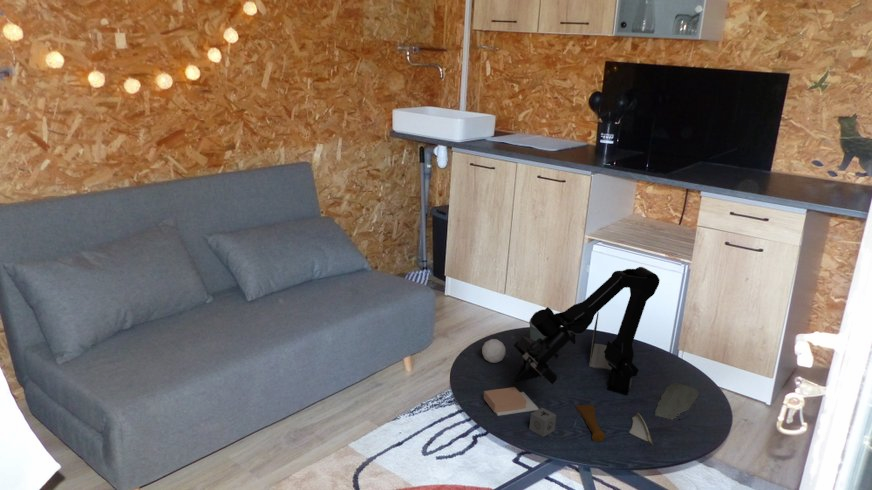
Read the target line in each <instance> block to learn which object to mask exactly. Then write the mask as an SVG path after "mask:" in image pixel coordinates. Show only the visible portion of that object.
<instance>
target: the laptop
mask: <svg viewBox="0 0 872 490" xmlns="http://www.w3.org/2000/svg"><path fill="white" fill-rule="evenodd" d="M598 321H599V311H598V312H597V313H596V318H595V324H594V328H593V334H592V341H591V348H590V356H589V364H588V365H589V366H588V367H590V368H594V369H600V370H607V371H608V370H609V371H611V369H612V367H611V366H609V365H608V362H607V361H606V359H605V353H604V351H605V349H606V346H607V344H606V345H605V344H601V343H596V336H597V328H598Z"/></svg>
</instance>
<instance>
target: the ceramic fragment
mask: <svg viewBox="0 0 872 490" xmlns="http://www.w3.org/2000/svg"><path fill="white" fill-rule="evenodd" d="M631 421H632V424H631V425H632V426H631V428H630V430H629V432H628V433H629V435H631V436H633V437H635V438H637V439H640V440H641V441H644V442H646V443H648V444H650V445H651V446H654V444H653V440H652V436H651V432H650V431H649V428H648V425H647V423H646V421H645V419H644V418H643V416H642V415H641V414H640V413H639V412H637V413H636V414H635V415H634V416H633V417H631Z"/></svg>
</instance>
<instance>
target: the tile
mask: <svg viewBox="0 0 872 490" xmlns="http://www.w3.org/2000/svg"><path fill="white" fill-rule="evenodd" d="M483 400H484V401H485V402H486V403H487V405H488V406H489V407H490V409H491V410H492V411H493V413H495V412H501V411H508V410H515V409H521V408H526V401H527V400H526V399H525V398H524V397H523V396H522V395H521V393H520V391H519V390H518V389H517V388H516V387H515V386H513V387H506V388H498V389H489V390H484V391H483Z"/></svg>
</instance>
